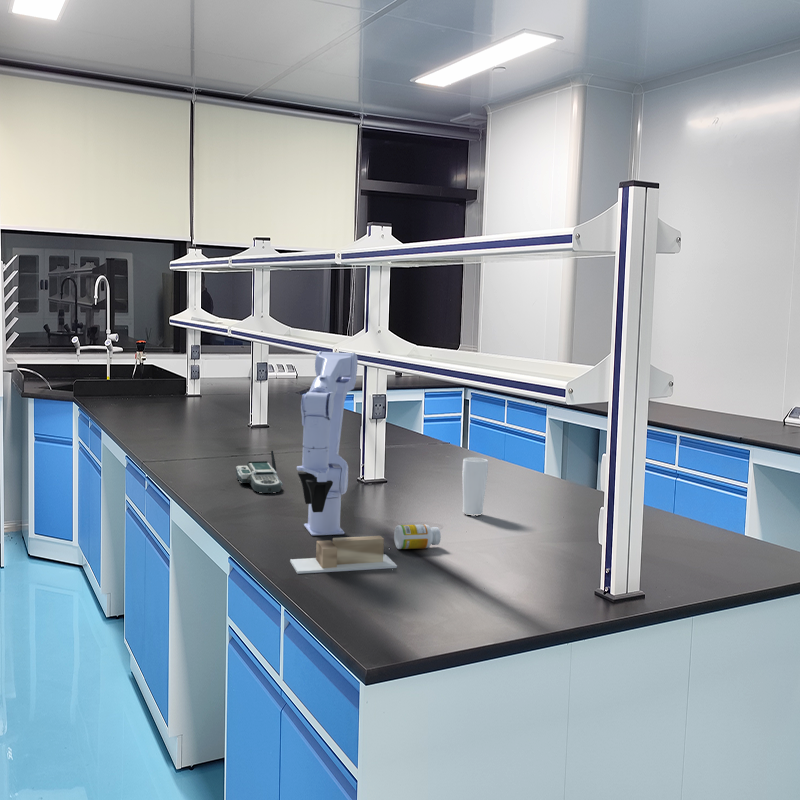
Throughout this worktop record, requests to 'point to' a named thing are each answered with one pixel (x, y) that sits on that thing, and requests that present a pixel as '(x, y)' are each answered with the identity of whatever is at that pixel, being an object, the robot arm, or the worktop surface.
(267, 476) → the communication device
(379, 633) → the worktop surface
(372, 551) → the tan boxy piece
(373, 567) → the grey mat
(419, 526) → the supplement bottle
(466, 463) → the drinking glass
